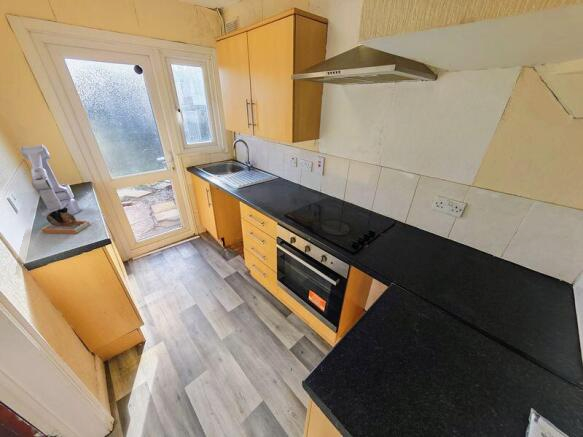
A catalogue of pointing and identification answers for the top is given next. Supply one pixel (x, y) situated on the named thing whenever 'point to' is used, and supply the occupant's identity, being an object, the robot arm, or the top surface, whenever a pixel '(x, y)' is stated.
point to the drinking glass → (68, 189)
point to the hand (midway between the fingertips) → (63, 221)
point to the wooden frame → (82, 225)
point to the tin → (66, 218)
